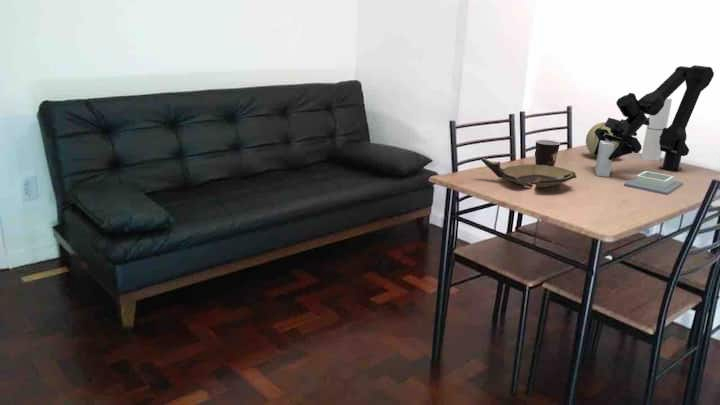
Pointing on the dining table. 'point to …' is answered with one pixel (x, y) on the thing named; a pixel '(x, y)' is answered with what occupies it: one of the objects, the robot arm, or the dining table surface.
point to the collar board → (654, 182)
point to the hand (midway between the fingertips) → (601, 157)
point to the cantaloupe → (593, 139)
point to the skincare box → (604, 158)
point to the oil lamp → (532, 174)
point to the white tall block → (655, 132)
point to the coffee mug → (546, 152)
